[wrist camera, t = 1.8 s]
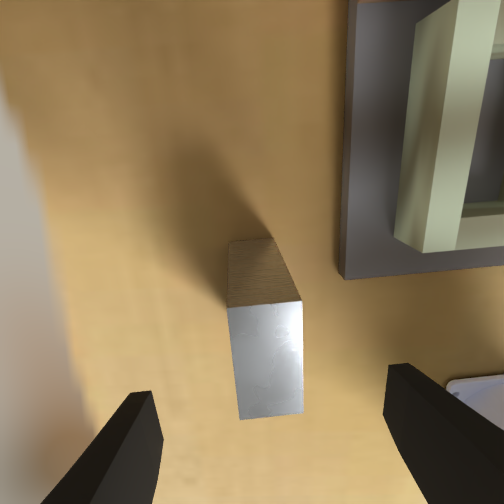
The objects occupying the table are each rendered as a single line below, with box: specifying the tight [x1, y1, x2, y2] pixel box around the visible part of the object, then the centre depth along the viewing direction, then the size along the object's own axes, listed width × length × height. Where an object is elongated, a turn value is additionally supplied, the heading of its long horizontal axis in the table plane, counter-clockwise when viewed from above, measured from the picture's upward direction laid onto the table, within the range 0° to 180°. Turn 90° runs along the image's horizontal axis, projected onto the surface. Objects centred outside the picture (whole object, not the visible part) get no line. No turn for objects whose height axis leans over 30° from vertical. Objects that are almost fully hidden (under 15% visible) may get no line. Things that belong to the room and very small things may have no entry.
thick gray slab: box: [227, 238, 304, 420], centre depth 14 cm, size 5×2×7 cm, turn 4°
